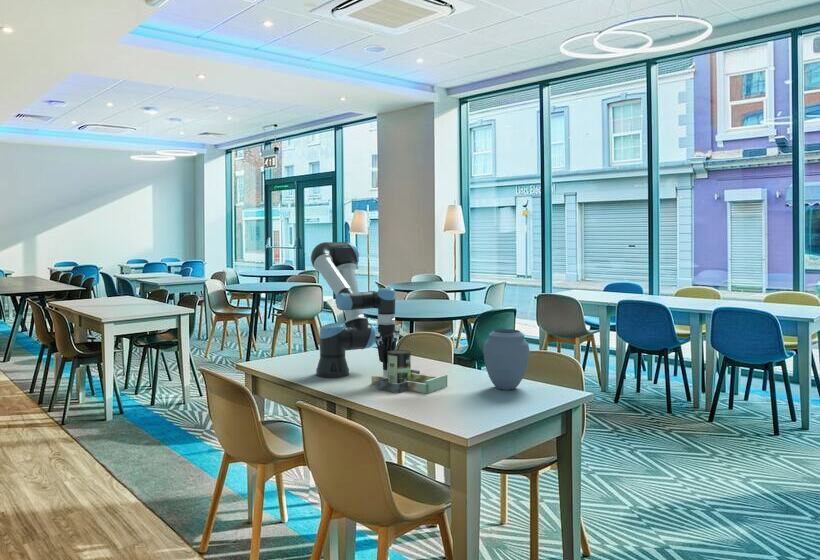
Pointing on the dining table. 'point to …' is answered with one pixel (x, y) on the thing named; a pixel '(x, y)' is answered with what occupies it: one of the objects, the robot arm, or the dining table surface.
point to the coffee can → (399, 366)
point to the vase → (506, 357)
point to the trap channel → (395, 387)
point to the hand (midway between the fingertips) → (386, 376)
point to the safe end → (433, 384)
